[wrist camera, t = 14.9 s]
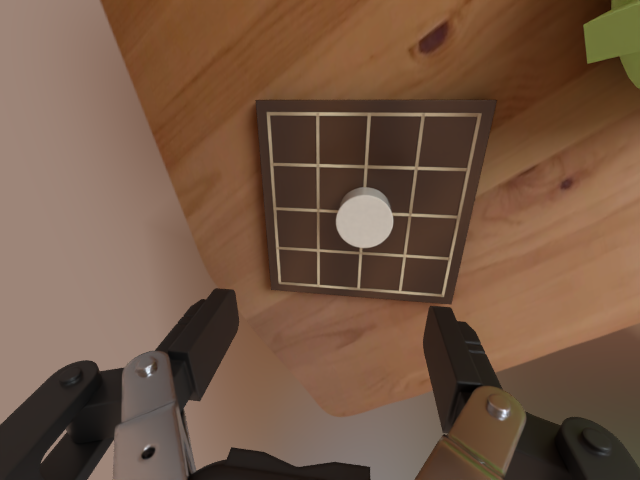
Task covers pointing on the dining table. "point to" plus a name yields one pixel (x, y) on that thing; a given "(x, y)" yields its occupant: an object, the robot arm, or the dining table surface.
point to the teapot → (616, 37)
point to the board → (378, 173)
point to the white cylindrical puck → (364, 217)
